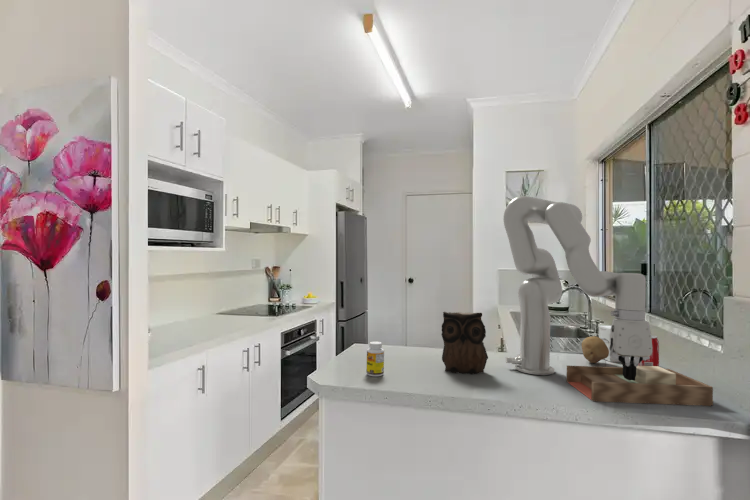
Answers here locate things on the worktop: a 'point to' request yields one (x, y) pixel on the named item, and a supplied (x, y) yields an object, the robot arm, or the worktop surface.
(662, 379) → the birch block
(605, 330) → the supplement box
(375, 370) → the supplement bottle
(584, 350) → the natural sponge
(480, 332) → the owl
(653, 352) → the soda can
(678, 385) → the wooden tray
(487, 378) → the worktop surface
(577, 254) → the robot arm
